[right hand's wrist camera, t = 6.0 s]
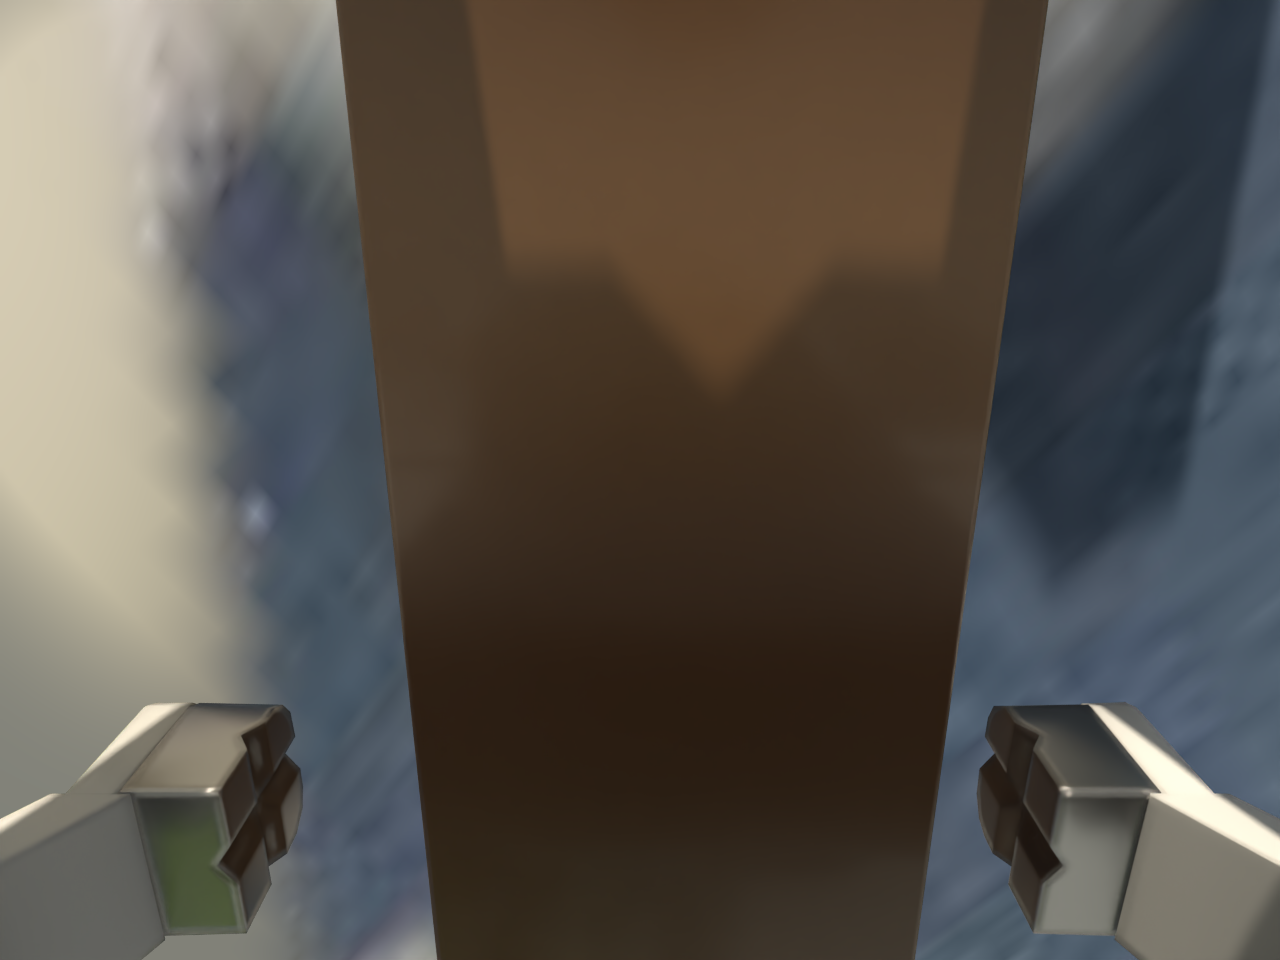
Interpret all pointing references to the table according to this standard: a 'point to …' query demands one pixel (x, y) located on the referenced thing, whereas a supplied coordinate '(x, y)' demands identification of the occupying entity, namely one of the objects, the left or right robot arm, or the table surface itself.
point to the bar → (684, 448)
